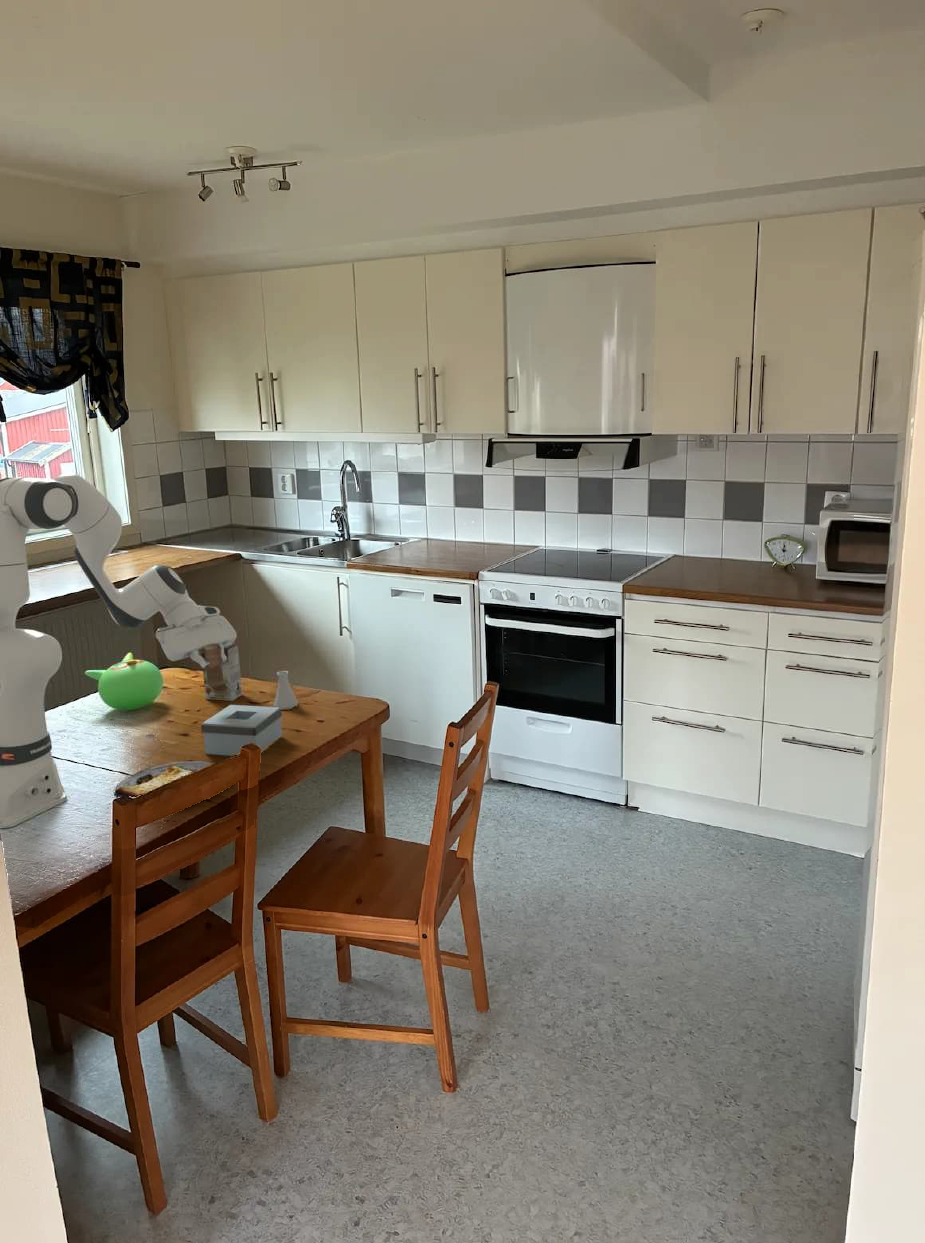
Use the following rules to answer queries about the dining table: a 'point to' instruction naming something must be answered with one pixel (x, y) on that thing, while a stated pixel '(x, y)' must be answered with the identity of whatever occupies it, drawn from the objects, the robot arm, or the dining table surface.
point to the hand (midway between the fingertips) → (215, 663)
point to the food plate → (156, 777)
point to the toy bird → (128, 683)
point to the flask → (284, 693)
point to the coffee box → (226, 677)
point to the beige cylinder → (214, 665)
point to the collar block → (241, 728)
